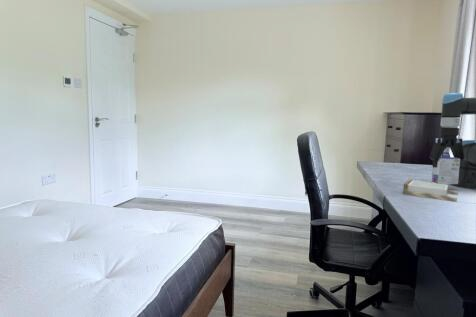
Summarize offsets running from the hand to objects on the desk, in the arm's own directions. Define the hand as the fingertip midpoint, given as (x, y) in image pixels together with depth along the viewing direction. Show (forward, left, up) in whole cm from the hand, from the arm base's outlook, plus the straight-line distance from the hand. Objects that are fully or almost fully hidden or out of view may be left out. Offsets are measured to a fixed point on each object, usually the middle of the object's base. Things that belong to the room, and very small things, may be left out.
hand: (445, 174), depth 153 cm
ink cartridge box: (0, 0, -5) cm, 5 cm away
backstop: (+15, +8, -7) cm, 19 cm away
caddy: (+16, +7, -7) cm, 19 cm away
